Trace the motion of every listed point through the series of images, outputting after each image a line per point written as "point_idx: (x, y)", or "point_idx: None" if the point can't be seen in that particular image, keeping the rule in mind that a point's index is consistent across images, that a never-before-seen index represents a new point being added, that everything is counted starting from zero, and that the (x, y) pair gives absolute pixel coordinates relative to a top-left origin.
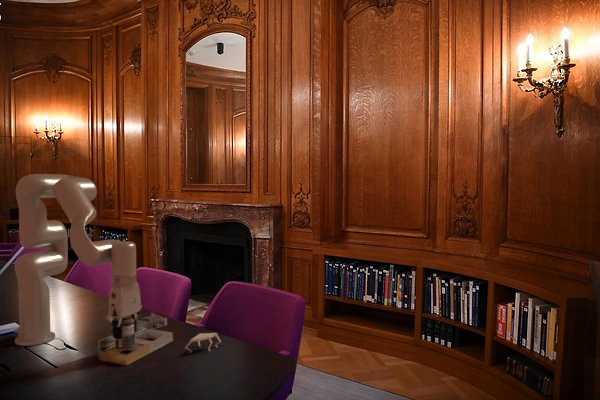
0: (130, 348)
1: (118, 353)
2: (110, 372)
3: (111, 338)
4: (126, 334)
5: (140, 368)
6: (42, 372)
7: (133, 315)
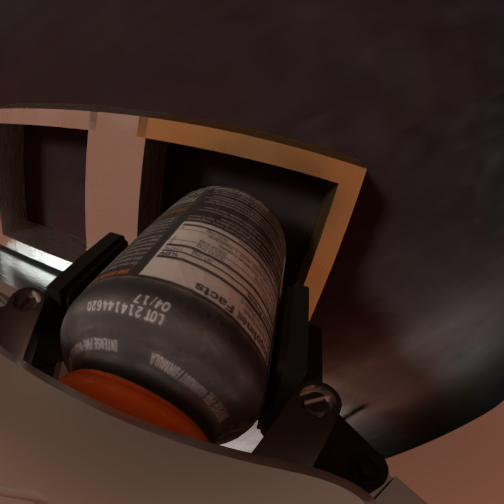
0: None
1: (329, 241)
2: (443, 206)
3: None
4: (260, 268)
5: (389, 63)
6: (399, 414)
7: (32, 350)
